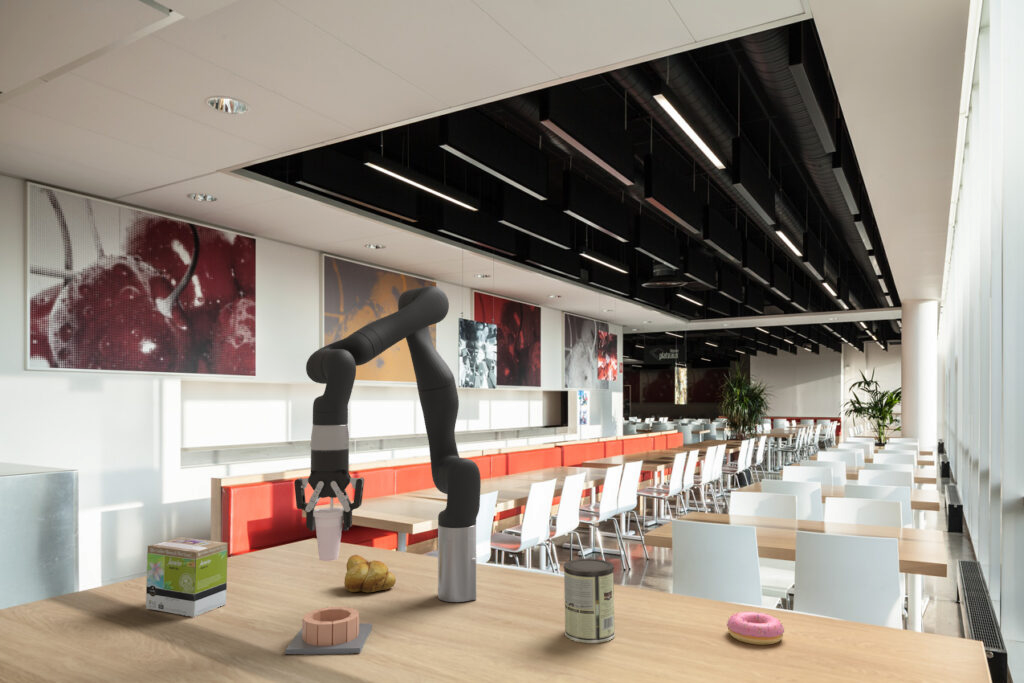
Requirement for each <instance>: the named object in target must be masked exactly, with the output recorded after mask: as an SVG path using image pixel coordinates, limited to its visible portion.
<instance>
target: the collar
mask: <svg viewBox="0 0 1024 683" xmlns="http://www.w3.org/2000/svg"><path fill="white" fill-rule="evenodd" d="M301 620H302V622H301V623H302V627H301V628H300V630H299V631H298V632H297V634H296V635H295V636H294V638H292V640H291V641H290V643H289V644H288V646H287V647H286V648H285V654H304V655H305V656H306V655H348V654H349V655H352V654H353V653H360V654H361V652H362V651H363V648H364V646H365V644H366V642H365V641H367V640H368V638H367V637H369V635H370V633H371V631H372V629H373V622H372V623H371V622H370V623H360V612H359V611H358V610H357V609H356V608H354V607H353V608H352V607H349V606H348V607H346V606H329V607H322V608H317V609H314V610H310V611H309V612H306V613H305V614H304V616H303V617H302V618H301ZM371 628H372V629H371ZM366 639H367V640H366ZM364 643H365V644H364ZM363 645H364V646H363ZM350 653H351V654H350ZM304 655H303V656H304ZM353 655H354V654H353Z"/></svg>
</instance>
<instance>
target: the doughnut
mask: <svg viewBox="0 0 1024 683" xmlns="http://www.w3.org/2000/svg"><path fill="white" fill-rule="evenodd" d="M726 626H727V630H728V634H730V636H731V637H733V638H734V639H735V640H737V641H740V642H741V643H746V644H750V645H757V646H769V645H774V644H776V643H778V642H780V641H781V640H782V638H783V637H784V633H785V629H786V628H785V627H784V625H783V623H782V622H781V620H779V619H778V618H776V617H775V616H772V615H770V614H768V613H762V612H759V611H741V612H736V613H733V614H732V615H731V616H730V617H728V620H727V623H726Z"/></svg>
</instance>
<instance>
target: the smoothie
mask: <svg viewBox="0 0 1024 683" xmlns="http://www.w3.org/2000/svg"><path fill="white" fill-rule="evenodd" d="M329 499H330V501H329V502H330V504H329V505H330V506H329V507H323V508H321V507H320V508H317V509H314V511H313V516H314V517H315V532H316V541H317V549H318V559H319V561H322V562H323V561H324V562H325V561H326V562H327V561H328V562H329V561H335V560H338V559H339V553H340V547H341V541H342V540H341V539H342V531H343V512H345V510H344V508H343V507H334V498H331V497H330V498H329Z"/></svg>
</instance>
